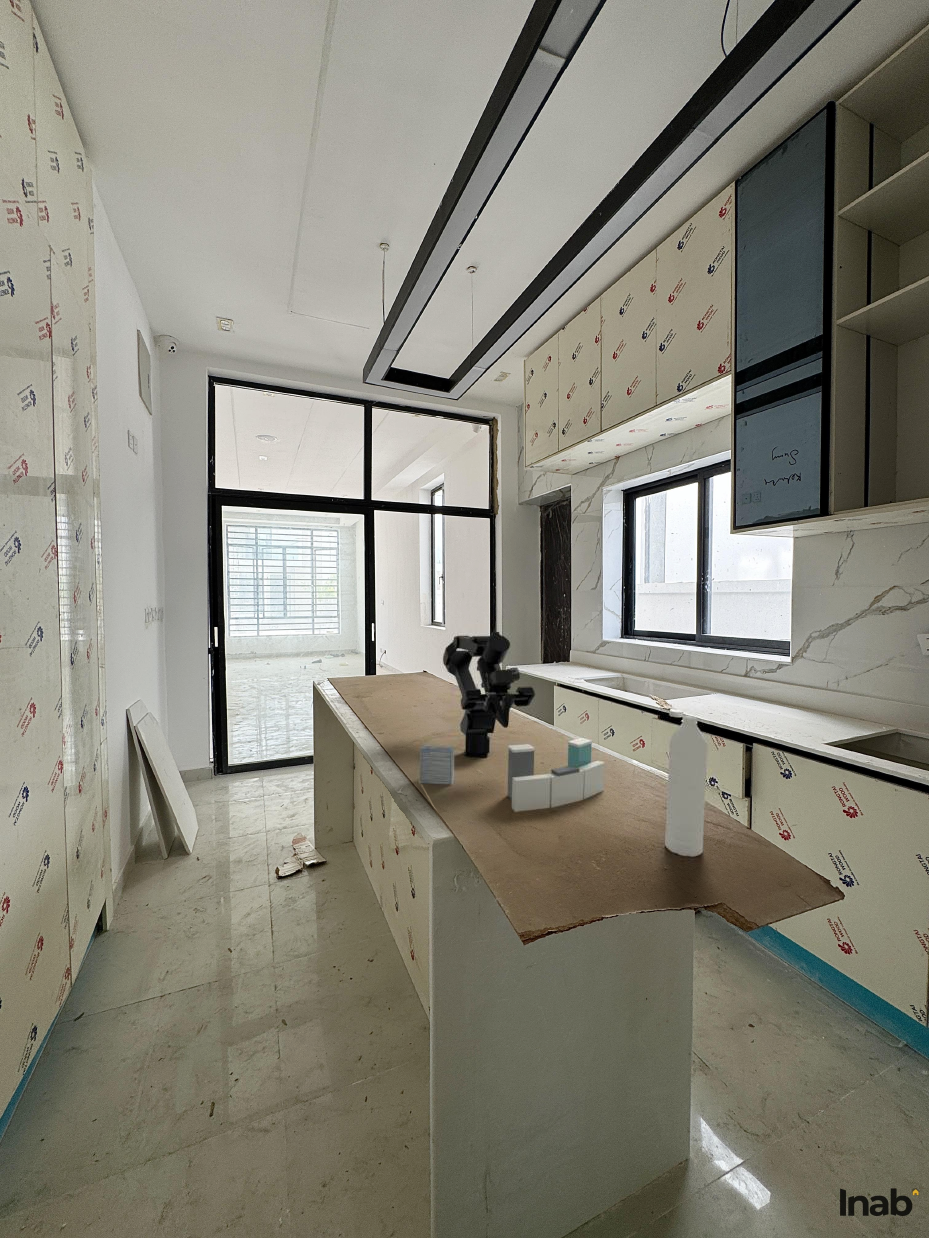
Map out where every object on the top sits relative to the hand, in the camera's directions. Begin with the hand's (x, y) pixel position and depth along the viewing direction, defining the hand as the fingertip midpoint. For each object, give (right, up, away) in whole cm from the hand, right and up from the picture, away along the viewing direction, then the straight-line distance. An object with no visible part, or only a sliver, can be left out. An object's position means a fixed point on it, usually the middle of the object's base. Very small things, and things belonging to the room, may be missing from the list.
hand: (506, 726), depth 129 cm
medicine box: (-17, -14, -1) cm, 22 cm away
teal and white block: (+17, -14, -4) cm, 22 cm away
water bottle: (+30, -16, -30) cm, 46 cm away
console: (+11, -14, -11) cm, 21 cm away
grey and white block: (+2, -14, -10) cm, 17 cm away
